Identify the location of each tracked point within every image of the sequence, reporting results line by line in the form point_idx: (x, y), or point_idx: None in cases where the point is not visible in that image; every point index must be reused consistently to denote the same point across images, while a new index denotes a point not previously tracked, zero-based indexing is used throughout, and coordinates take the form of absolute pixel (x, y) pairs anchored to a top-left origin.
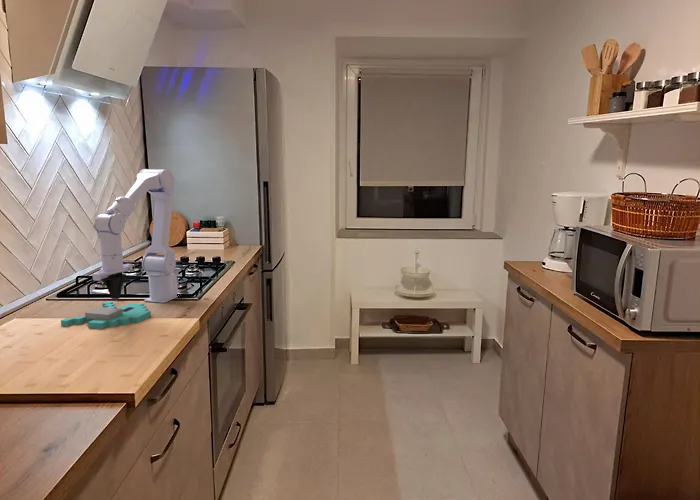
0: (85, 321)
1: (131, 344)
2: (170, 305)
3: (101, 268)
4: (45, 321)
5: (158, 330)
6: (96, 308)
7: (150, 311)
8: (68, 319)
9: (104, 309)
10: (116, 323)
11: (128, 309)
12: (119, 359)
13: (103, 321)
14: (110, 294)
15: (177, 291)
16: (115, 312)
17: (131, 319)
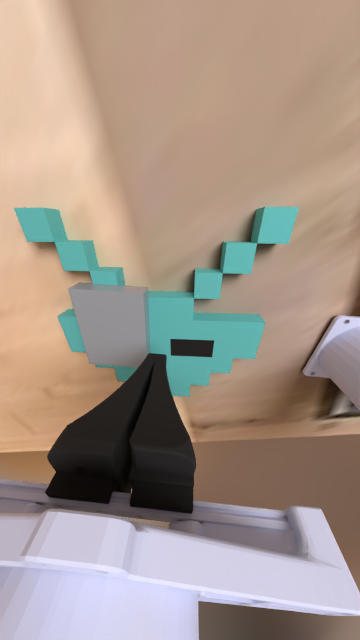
0: (96, 267)
1: (53, 414)
2: (277, 388)
3: (41, 562)
4: (17, 54)
5: None
6: (124, 294)
7: (189, 395)
8: (38, 231)
9: (124, 326)
10: None
11: (191, 350)
12: (10, 422)
13: (83, 347)
14: (141, 365)
15: None
16: (118, 364)
17: None
